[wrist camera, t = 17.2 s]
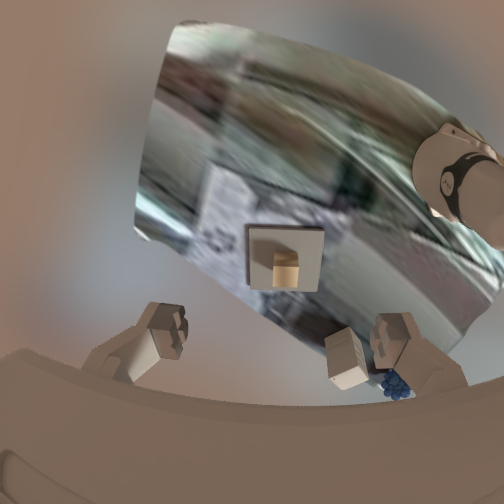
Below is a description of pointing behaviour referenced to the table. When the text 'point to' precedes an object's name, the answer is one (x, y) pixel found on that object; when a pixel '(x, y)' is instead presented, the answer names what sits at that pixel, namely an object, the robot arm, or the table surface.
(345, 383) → the supplement box
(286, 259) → the birch block
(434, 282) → the table surface
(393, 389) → the grapes
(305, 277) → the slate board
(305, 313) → the table surface
